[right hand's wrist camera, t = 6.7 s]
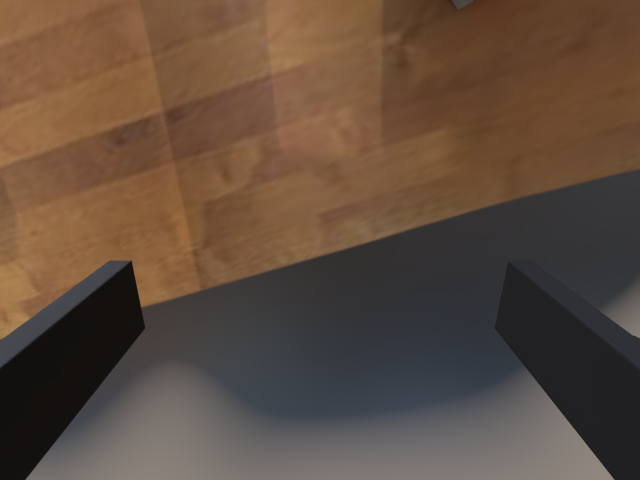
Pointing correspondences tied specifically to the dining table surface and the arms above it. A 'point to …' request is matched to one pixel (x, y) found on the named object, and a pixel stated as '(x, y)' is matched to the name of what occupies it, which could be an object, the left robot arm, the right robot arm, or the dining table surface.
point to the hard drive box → (461, 3)
